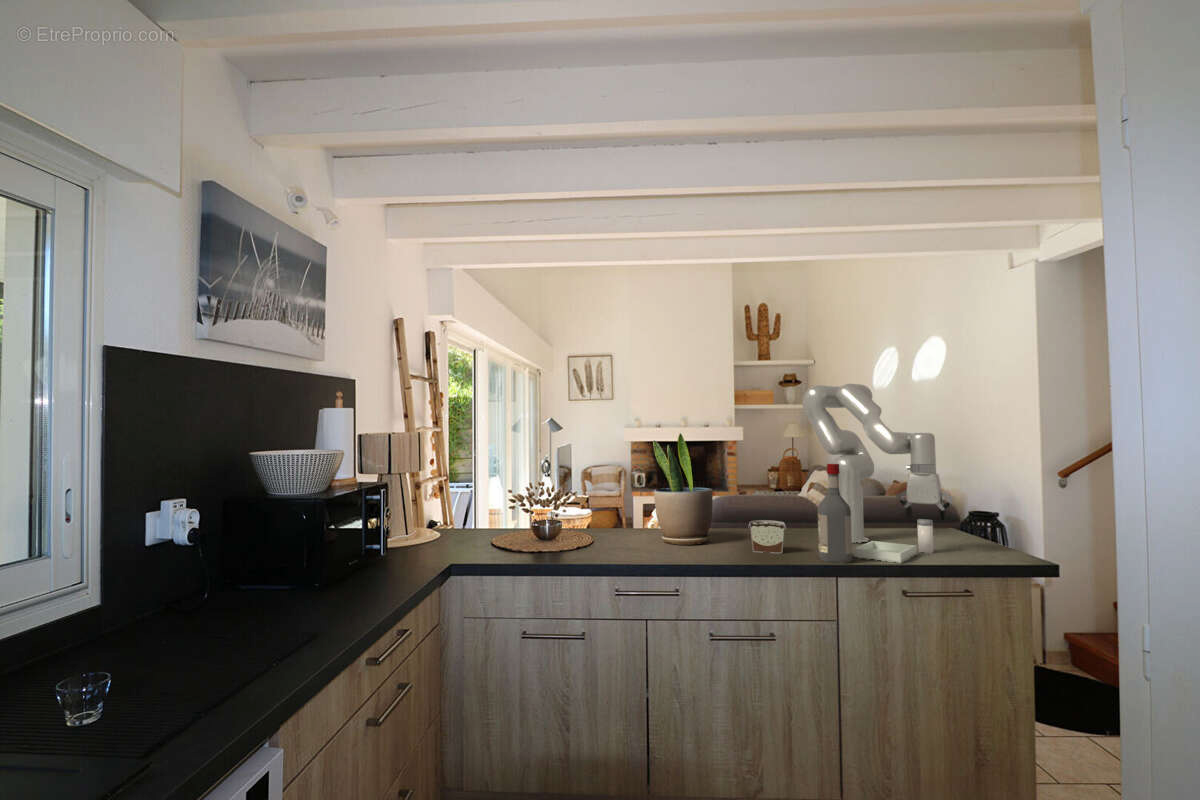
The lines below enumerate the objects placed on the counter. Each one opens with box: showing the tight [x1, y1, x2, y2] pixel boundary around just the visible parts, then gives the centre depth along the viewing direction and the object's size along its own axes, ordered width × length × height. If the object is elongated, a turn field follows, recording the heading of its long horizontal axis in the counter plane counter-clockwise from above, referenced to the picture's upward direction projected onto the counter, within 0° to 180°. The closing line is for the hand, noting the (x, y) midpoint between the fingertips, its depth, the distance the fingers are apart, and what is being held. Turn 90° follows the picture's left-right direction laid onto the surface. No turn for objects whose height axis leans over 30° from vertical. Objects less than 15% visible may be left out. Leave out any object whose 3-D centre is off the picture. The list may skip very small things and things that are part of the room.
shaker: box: [916, 518, 935, 554], centre depth 209 cm, size 5×5×11 cm
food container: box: [748, 519, 787, 554], centre depth 212 cm, size 12×6×10 cm, turn 71°
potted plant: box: [652, 432, 714, 546], centre depth 231 cm, size 21×22×40 cm
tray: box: [853, 540, 918, 564], centre depth 202 cm, size 14×18×3 cm
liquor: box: [817, 463, 853, 564], centre depth 196 cm, size 9×9×30 cm
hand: (925, 520), depth 209 cm, fingers open, 9 cm apart
